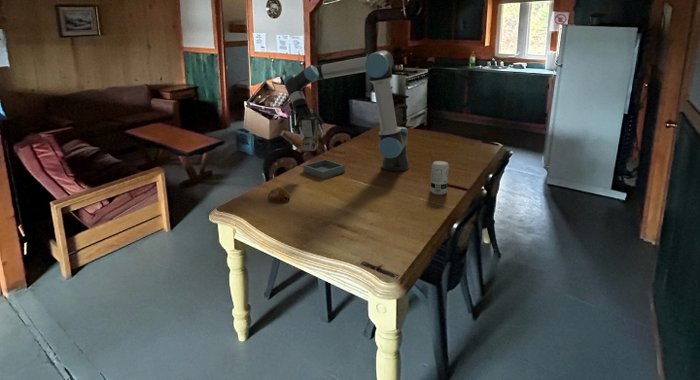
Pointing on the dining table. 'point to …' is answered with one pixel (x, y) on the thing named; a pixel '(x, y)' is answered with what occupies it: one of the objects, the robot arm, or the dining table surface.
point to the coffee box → (310, 133)
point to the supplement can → (439, 177)
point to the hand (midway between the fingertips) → (312, 137)
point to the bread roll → (278, 196)
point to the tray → (324, 169)
